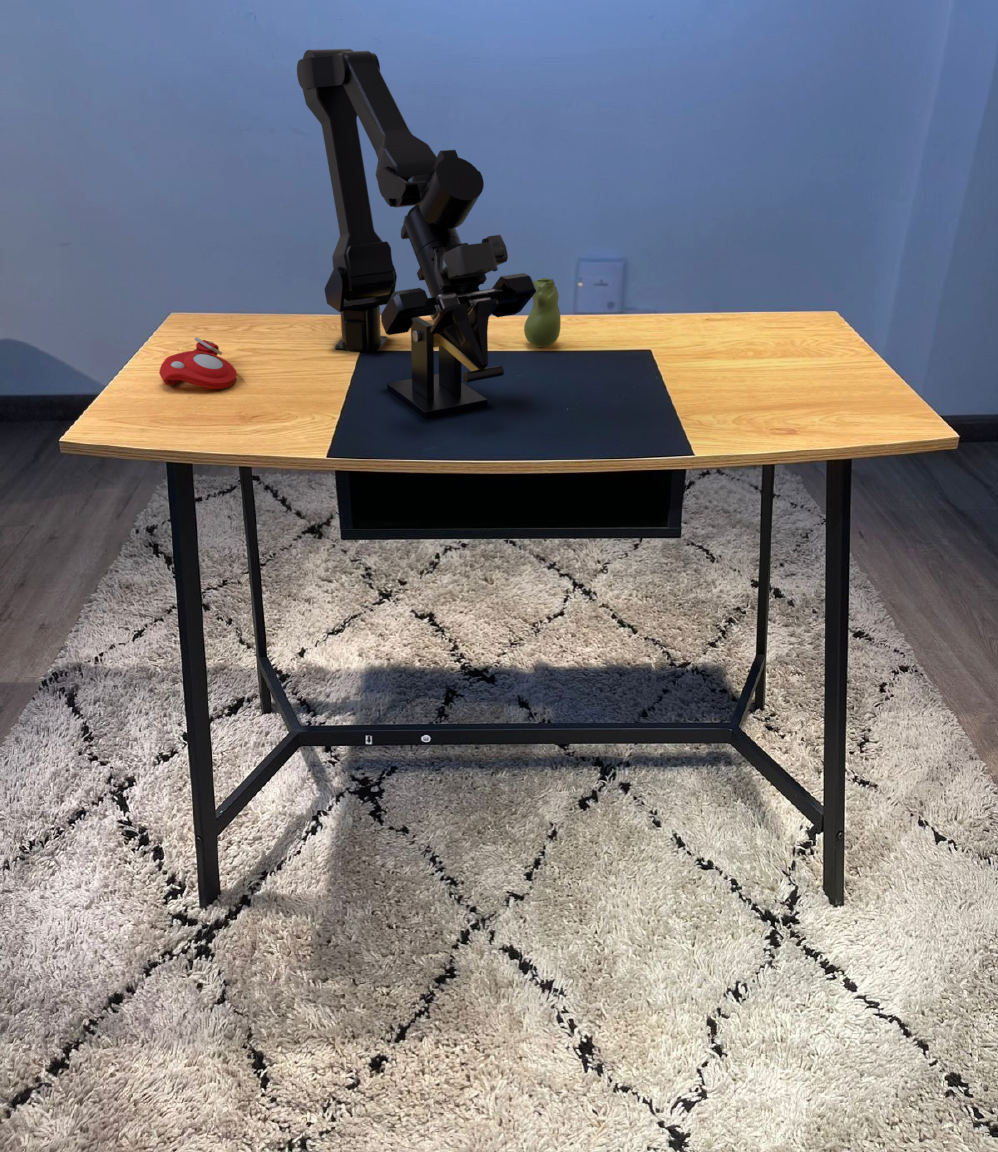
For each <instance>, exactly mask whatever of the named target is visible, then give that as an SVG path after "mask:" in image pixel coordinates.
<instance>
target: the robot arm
mask: <svg viewBox="0 0 998 1152" xmlns="http://www.w3.org/2000/svg"><path fill="white" fill-rule="evenodd" d="M303 53H304V54H303V57H302V58H299V60H298V62H297V64H296V77H297V81H298V85H299V86H300V88H301V89H302V94H303V97H304V103H305V105H306V106H307V108H308V110H310V112H311V113H312V115H313V116H314V117H315V118H316V120H317V121H318V122H319V123H320V126H321V130H322V135H323V136H322V137H323V142H324V147H325V154H326V159H327V166H328V172H329V177H330V183H331V190H332V195H333V201H334V206H335V212H336V213H335V214H336V219H337V225H338V231H339V238H338V241H337V243H336V246H335V248H334V251H333V254H332V256H331V259H332V271H331V274H330V276H329V278H328V280H327V282H326V285H325V286H324V295H325V300H326V304H327V305H328V306H329V307H331V308H332V309H334V310H335V311H337V312H338V313H339V315H340V329H341V339H340V340H339V341H338V342H337V343H336V344H335V346H334V350H335V351H341V352H352V353H353V352H354V353H355V352H356V353H364V354H365V353H366V354H378V353H379V352H380V351H381V350H382V349H383V347H384V346H385V344H386V343H387V341H389V337H388V336H393V335H397V334H398V335H399V334H405V333H409V331H411V326H412V324H413V321H412V319H411V318H415V317H420V318H421V317H427V316H428V317H429V316H430V318H431V320H433V323H434V324H433V326H432V327H431V329H430V331H431V333H432V334H439V335H440V336H442V337H443V338H444V339H446V340H447V341H448V342H449V343H451V344H452V345H453V346H455V347H456V348H457V349H458V350H459V351H460V352H461V353H462V354H464V355H465V356H466V357H467V358H468V359H469V360H470V361H471V362H472V363H473V364H474V365H475V366H476V367H477V368H478V369H484V368H488V365H489V347H488V346H489V343H488V342H489V341H488V340H489V339H488V327H489V318H490V317H491V315H492V316H494V317H496V318H504V317H509V316H515V315H517V314H519V313H521V312H522V311H523V309H524V308H525V307H526V306H527V304H528V303H529V302H530V300H531V299H532V296H533V295H534V294H535V293H536V291H537V290H536V288H535V285H534V283H533V281H534V280H533V278H532V277H531V275H529V274H527V273H525V272H522V273H516V274H508V275H501V276H500V277H499V278H498V279H497V281H496V282H495V283H494V285H493V286H492V287H491V288H488V289H481V290H480V287H479V286H480V285H484V284H485V283H486V281H487V279H488V278H487V276H486V274H488V273H490V272H497V271H498V270H499V268H498V266H500V265H502V264H504V263H507V261H508V258H509V255H508V250H507V246H506V243H505V241H504V239H503V237H502V235H501V234H496V235H495V234H493V235H488V236H487V237H485V238H484V237H483V238H482V239H481V242H480V243H471V244H469V243H468V242H464V243H462V241H461V239H460V236H459V233H458V231H457V229H456V228H459V227H460V226H462V224H464V222H465V221H466V219H467V217H468V216H469V214H470V213H471V211H472V209H473V208H474V206H475V204H476V202H477V201H478V200H479V198H480V196H481V194H482V193H483V190H484V187H485V186H484V184H485V183H484V177H483V175H482V172H481V171H480V170H478V169H477V168H476V166H474V164H472V163H471V162H469V161H468V160H466V159H464V158H462V157H459V155H458V153H457V150H456V149H444V150H440V151H439V152H438V154H437V155H436V154H435V152H434V151H433V150H432V148H431V147H430V145H429V144H428V143H427V142H425V141H423V140H422V139H420V138H418V137H417V136H415V135H414V134H413V133H412V131H411V130H410V128H409V126H408V124H407V122H406V121H405V118H404V116H403V114H402V112H401V110H400V108H399V106H398V105H397V102H396V101H395V98H394V96H393V94H392V93H391V91H390V88H389V86H388V85H387V83H386V81H385V78H384V76H383V74H382V73H381V66H380V61H379V58H378V56H377V54H376V53H375V52H371V51H369V50H353V49H351V48H333V49H331V48H329V49H307V50H305V52H303ZM358 119H359V121H360V123H361V125H362V127H363V129H364V132H365V134H366V135H367V137H368V139H369V141H370V144H371V147H373V150H374V152H375V155H376V157H377V164H376V170H375V178H376V181H377V186H378V191H379V193H380V195H381V197H382V198H383V199H384V201H385V203H386V204H387V205H388V206H389V207H390V208H405V207H411V208H410V209H409V211H408V212H407V214H406V215H404V219H403V225H402V226H401V229H400V238H401V239H402V240H409V242H410V244H411V247H412V250H413V253H414V255H415V258H416V261H417V263H418V266H419V269H418V271H416V275H417V278H418V281H419V282H420V281H424V282H425V285H426V287H427V289H428V292H429V294H430V297H428V294H427V291H426V290H424V289H423V288H421V287H416V288H409V289H403V290H396V286H397V285H396V284H397V279H398V276H397V271H396V268H395V265H394V262H393V258H392V248H391V245H390V244H389V242H388V241H383V240H382V238H381V237H380V236H379V235H378V233H377V231H375V227H374V221H373V215H372V214H373V213H372V208H371V201H370V196H369V188H368V184H367V183H368V182H367V177H366V169H365V164H364V157H363V152H362V146H361V139H360V131H359V126H358ZM381 306H385V307H384V309H383V310H382V312H381V308H380V307H381ZM381 325H382V327H383V330H384V332H385V334H386V335H387V336H386V335H382V332H381V331H382V330H381Z"/></svg>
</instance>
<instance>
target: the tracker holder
mask: <svg viewBox="0 0 998 1152" xmlns="http://www.w3.org/2000/svg"><path fill="white" fill-rule="evenodd" d="M194 341H196V342H197V343H196V344H195V349H193V350H188V351H187V350H186V351H183V352H178V353H175V354H172V355H169V356H167V357H165V359H164V360H163V362H162V363H161V365H160V368H159V371H158V372H159V376H160V378H161V379H162V382H163V383H164V385H166V386H172V385H175V384H177V383H180V382H181V381H183V382H185V383H187V384H191V385H194V386H198V387H202V388H205V389H212V390H221V389H227V388H230V387H231V386H233V385H234V384H235V381H236V378H237V370H236V369H235V367H234V365H233V364H232V363H230V362H229V361H228V360H226V359H225V358H223V357H221V356H222V355H223V352H222V351H221V350H219V348H220V347H219V345H218V344H215V343H214V342H213V341H209V340H206V339H201V338H200V337H199V338H198V337H196V336H195V337H194ZM219 355H220V356H219Z"/></svg>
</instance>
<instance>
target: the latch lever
mask: <svg viewBox="0 0 998 1152" xmlns="http://www.w3.org/2000/svg"><path fill="white" fill-rule="evenodd" d="M425 321H426V322H428V323H429V324H431V325H433V324H434V323H433V320H432V319H429V320H428V319H427V320H425ZM439 346H443V347H444V348H445V349H446V350H448V351H449V352H450V353H451V354H452V355H453V356H454V357H455V358H457V359H458V360H459V361H460V362H461V365H463V366H464V367H465V368H467V369H468V371H465V372H463V374H462V378H463V379H462V380H463V382H464V383H472V382H476V381H481V380H482V381H483V380H486V379H493V378H497V377H502V376H504V374H505V370H504V366H502V365H495V366H492V367H486V368H484V369H478V368H477V367H476V366H475V365H474V364H473V363H472V362H471V361H470V360H469V359H468V358H467V357H466V356H465V355H464V354H462V353H461V352H460V351H459V350H458V349H457V348H456V347H455V346H453V345H452V344H451V343H449V342H448V341H447V340H446V339H444V338H443V337H442V336H440V335H439V334H434V348H439Z"/></svg>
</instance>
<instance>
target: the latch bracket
mask: <svg viewBox="0 0 998 1152" xmlns="http://www.w3.org/2000/svg"><path fill="white" fill-rule="evenodd" d="M411 319H412V321H413V324H412V326H411V328H410V352H411V353H410V355H411V359H410V361H411V378H407V379H402V380H398V381H392V382H387V383H386V388H387V389H386V390H387V392H389V393H390V394H392V395H393V396H394V397H395V398H397V400H400V401H401V402H402V403H403V404H404V405H406V406H407V407H409V408H410V409H411V410H412V411H414V412H415V413H416V414H418V415H419V416H420V417H421V418H423V419H425V420H429V419H435V418H439V417H444V416H449V415H453V414H458V413H463V412H468V411H472V410H478V409H482V408H487V407H488V398H486V397H485V396H483V395H482V394H480V393H478V391H476V390H474V389H473V388H471V387H470V386H468V385H466V384H465V383H463V382H462V363H461V362H460V361H459V360H458V359H457V358H455V357H454V356H453V355H452V354H451V353H450V352H449V351H448V350H446V349H445V348H444V347H443V346H439V347H438V373H435V358H434V357H435V354H434V351H435V349H434V348H435V347H434V334H432V333H431V331H430V329H431V327H432V326H433V325H431V324H429V323H428V322H426V321H427V320H424V319H423V318H421V317H415V318H411Z"/></svg>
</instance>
